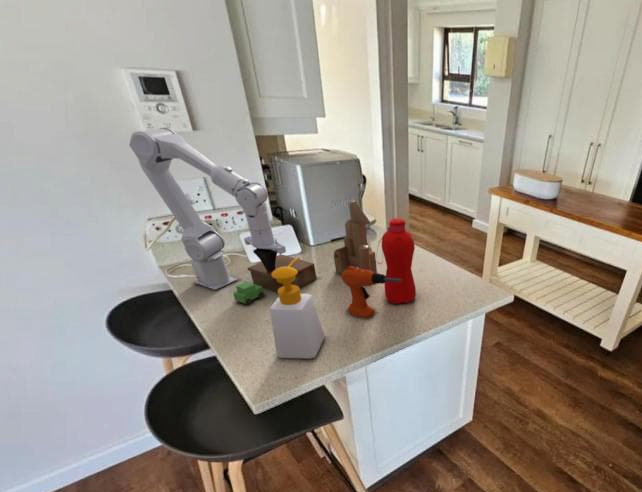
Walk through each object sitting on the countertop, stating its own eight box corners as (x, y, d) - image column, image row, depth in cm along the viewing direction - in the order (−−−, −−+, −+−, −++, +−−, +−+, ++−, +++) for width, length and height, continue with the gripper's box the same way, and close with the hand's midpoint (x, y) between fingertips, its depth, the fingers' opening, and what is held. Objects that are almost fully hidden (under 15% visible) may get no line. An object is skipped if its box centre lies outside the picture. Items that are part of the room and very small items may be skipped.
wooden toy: (334, 272, 127) (323, 200, 113) (349, 266, 132) (340, 195, 118) (367, 285, 120) (359, 210, 107) (381, 278, 125) (375, 205, 111)
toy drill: (403, 324, 100) (395, 274, 93) (346, 316, 106) (333, 269, 99) (411, 315, 104) (403, 266, 96) (355, 308, 110) (344, 262, 102)
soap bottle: (331, 327, 100) (318, 252, 87) (315, 360, 88) (298, 278, 76) (295, 326, 99) (277, 250, 87) (275, 359, 88) (251, 277, 75)
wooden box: (287, 295, 113) (284, 281, 110) (253, 283, 118) (249, 270, 115) (316, 278, 123) (314, 265, 120) (284, 269, 127) (281, 256, 125)
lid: (282, 280, 110) (282, 278, 109) (247, 270, 114) (247, 267, 114) (314, 265, 120) (314, 263, 120) (281, 256, 125) (280, 254, 124)
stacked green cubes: (246, 306, 107) (241, 291, 104) (236, 302, 108) (231, 287, 105) (265, 296, 112) (261, 281, 109) (255, 292, 113) (251, 278, 110)
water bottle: (378, 291, 117) (372, 215, 104) (412, 289, 120) (411, 213, 106) (381, 306, 110) (374, 226, 96) (417, 303, 112) (416, 224, 99)
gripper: (289, 228, 107) (298, 270, 114) (253, 219, 112) (264, 260, 119) (270, 235, 101) (280, 279, 109) (233, 226, 106) (246, 268, 114)
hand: (271, 270), depth 114 cm, fingers closed, pressing on lid
